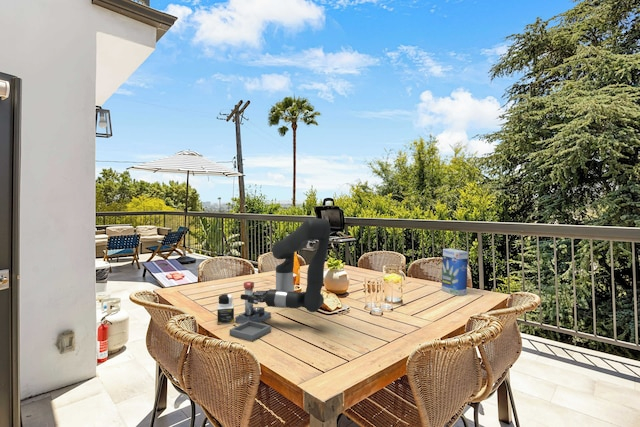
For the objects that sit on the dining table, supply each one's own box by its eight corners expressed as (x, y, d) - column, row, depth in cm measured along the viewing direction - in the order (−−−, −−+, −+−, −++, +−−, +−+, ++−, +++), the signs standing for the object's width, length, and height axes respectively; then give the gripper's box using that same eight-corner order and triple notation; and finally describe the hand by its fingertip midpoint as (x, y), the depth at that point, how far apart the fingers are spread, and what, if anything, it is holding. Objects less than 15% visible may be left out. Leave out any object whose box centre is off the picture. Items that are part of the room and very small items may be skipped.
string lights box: (441, 290, 214) (442, 248, 213) (450, 289, 217) (451, 248, 216) (457, 296, 202) (459, 252, 201) (467, 294, 205) (468, 251, 204)
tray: (249, 326, 153) (249, 320, 153) (270, 331, 147) (270, 325, 147) (229, 335, 143) (229, 329, 143) (252, 341, 137) (252, 335, 137)
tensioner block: (254, 313, 169) (254, 304, 169) (270, 317, 164) (270, 307, 164) (235, 322, 158) (235, 311, 158) (252, 326, 153) (252, 315, 153)
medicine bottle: (217, 324, 155) (217, 297, 154) (217, 319, 162) (217, 293, 161) (233, 323, 157) (233, 296, 156) (233, 317, 164) (233, 292, 163)
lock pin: (248, 310, 162) (248, 281, 161) (256, 312, 159) (256, 282, 159) (241, 313, 158) (241, 283, 157) (249, 315, 155) (249, 284, 155)
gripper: (284, 286, 161) (249, 283, 165) (272, 294, 147) (235, 291, 152) (284, 302, 162) (250, 299, 166) (272, 312, 148) (235, 308, 152)
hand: (243, 295), depth 159 cm, fingers closed on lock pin, 3 cm apart
